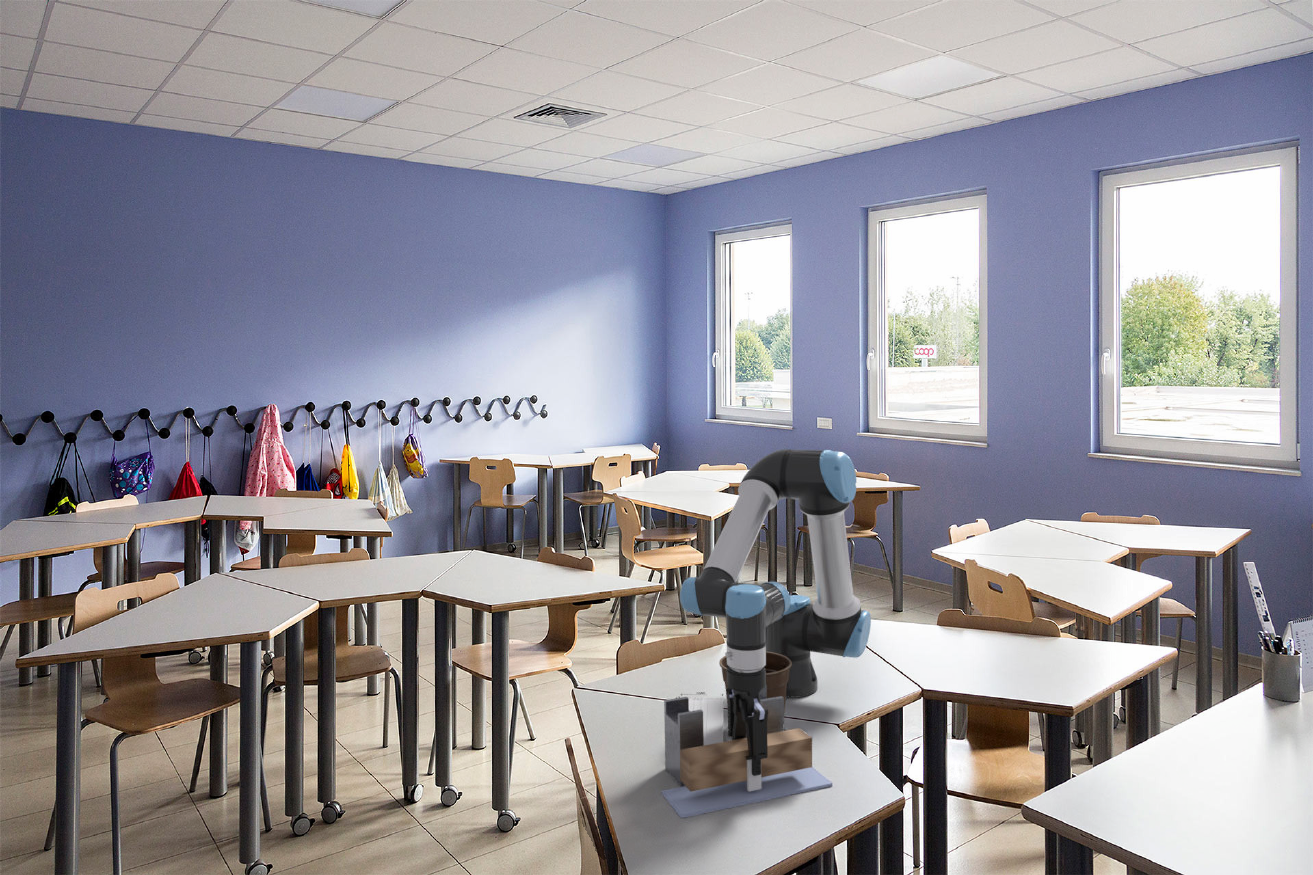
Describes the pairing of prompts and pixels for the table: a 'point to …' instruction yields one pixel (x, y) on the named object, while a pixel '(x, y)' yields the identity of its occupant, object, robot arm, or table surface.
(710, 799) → the felt pad
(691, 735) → the stand
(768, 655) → the plant pot
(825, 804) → the table surface
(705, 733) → the baseboard molding
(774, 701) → the stand
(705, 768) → the oak rail
